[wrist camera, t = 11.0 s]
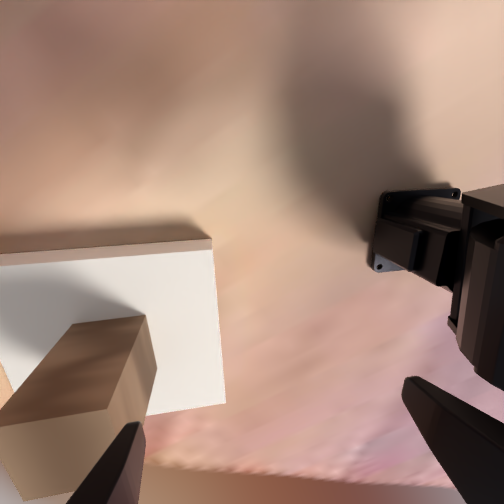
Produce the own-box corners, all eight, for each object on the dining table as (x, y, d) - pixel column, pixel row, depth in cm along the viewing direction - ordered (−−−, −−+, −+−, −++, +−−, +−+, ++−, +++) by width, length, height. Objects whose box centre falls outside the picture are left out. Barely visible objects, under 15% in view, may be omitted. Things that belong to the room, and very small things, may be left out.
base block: (211, 238, 19) (212, 249, 16) (224, 378, 23) (225, 403, 21) (-6, 254, 17) (-41, 269, 14) (52, 404, 21) (32, 434, 19)
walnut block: (145, 314, 17) (107, 409, 11) (157, 368, 19) (129, 480, 12) (72, 323, 17) (-17, 429, 10) (90, 378, 18) (23, 501, 12)
